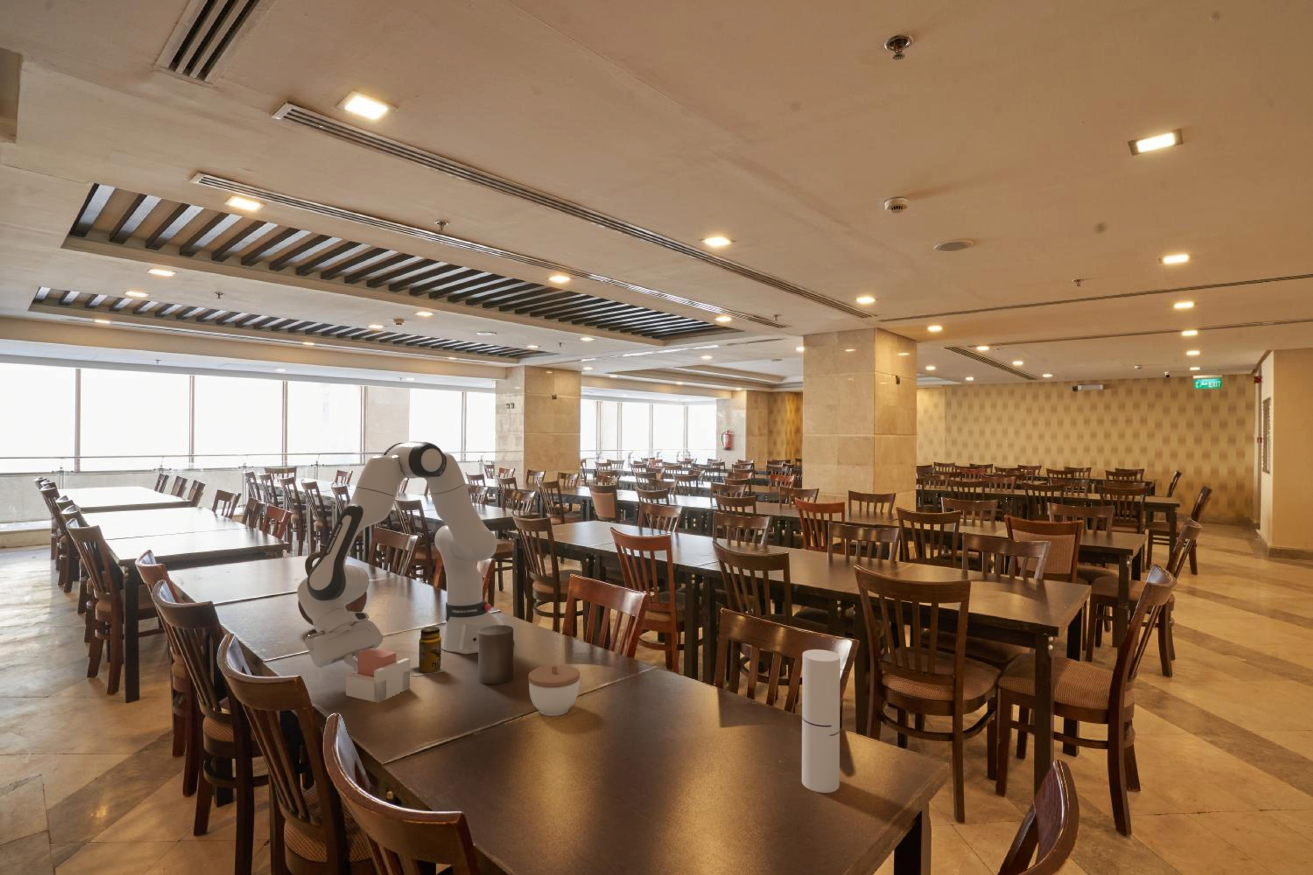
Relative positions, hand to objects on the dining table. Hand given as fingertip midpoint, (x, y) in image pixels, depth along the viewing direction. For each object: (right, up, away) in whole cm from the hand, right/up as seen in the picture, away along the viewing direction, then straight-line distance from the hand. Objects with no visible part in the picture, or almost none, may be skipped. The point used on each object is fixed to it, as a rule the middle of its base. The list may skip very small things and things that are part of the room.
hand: (361, 668), depth 177 cm
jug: (-35, -6, +55) cm, 65 cm away
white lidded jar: (+54, -6, -13) cm, 56 cm away
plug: (+5, -5, -2) cm, 8 cm away
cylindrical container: (+111, -6, -47) cm, 121 cm away
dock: (+5, -5, -2) cm, 8 cm away
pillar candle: (+34, -6, +8) cm, 35 cm away
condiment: (+13, -6, +14) cm, 20 cm away
